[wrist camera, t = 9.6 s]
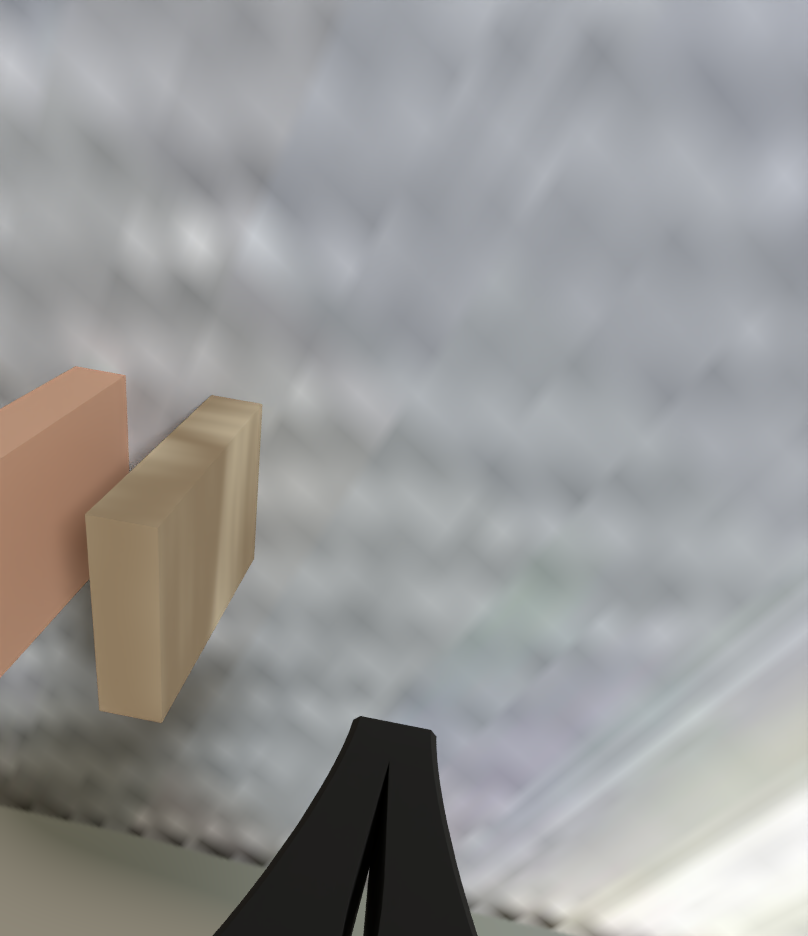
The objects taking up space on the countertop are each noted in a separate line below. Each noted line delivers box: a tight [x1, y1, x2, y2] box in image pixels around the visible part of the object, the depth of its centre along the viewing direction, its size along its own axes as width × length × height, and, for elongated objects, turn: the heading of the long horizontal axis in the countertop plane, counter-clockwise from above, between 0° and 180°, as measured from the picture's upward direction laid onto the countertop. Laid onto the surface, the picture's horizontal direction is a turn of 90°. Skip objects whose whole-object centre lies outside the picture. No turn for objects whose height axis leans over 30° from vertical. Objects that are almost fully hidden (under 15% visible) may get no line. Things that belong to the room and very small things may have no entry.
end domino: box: [85, 395, 262, 723], centre depth 17 cm, size 1×5×6 cm, turn 172°
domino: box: [0, 366, 129, 678], centre depth 17 cm, size 1×5×6 cm, turn 172°
